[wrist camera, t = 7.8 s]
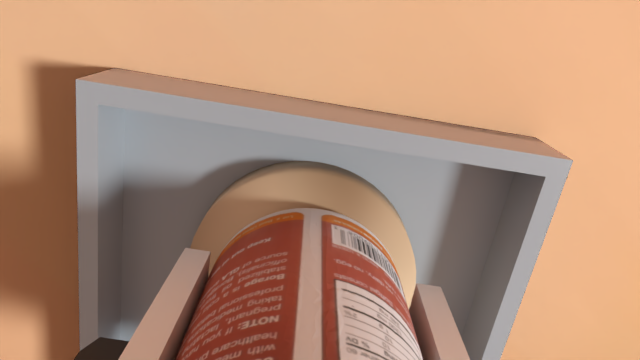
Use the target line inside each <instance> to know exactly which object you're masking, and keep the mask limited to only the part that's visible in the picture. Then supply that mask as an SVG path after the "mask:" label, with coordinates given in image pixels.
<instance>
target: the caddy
mask: <svg viewBox="0 0 640 360" xmlns="http://www.w3.org/2000/svg"><path fill="white" fill-rule="evenodd" d="M76 136H77V202H78V268H79V334H80V351H81V350H82V349H83V348H85V347H86V346H88V345H89V344H91V343H92V342H94V341H95V340H96V339H98V338H99V337H103V338H110V339H117V340H124V341H130V339H131V338H132V336H133V334H134V333H135V331H136V329H137V327H138V326H139V324H140V322H141V321H142V319H143V317H144V316H145V314H146V312H147V311H148V309H149V307H150V306H151V304H152V302H153V301H154V299H155V297H156V296H157V294H158V292H159V291H160V289H161V287H162V286H163V284H164V282H165V281H166V279H167V277H168V276H169V274H170V272H171V271H172V269H173V267H174V266H175V264H176V262H177V261H178V259H179V257H180V256H181V254H182V252H183V251H184V249H185V248H190V247H191V244H192V241H193V238H194V236H195V234H196V232H197V230H198V227H199V225H200V224H201V222H202V220H203V219H204V217H205V215H206V213H207V212H208V210H209V208H210V207H211V206H212V204H213V203H214V201H215V200H216V199H217V198H218V197H219V195H220V194H221V193H222V192H223V191H224V190H225V189H226V188H228V187H229V186H230V185H231V184H232V183H234V182H235V181H236V180H238V179H240V178H241V177H243V176H245V175H246V174H248V173H250V172H252V171H255V170H257V169H259V168H262V167H265V166H269V165H272V164H276V163H282V162H289V161H312V162H321V163H326V164H330V165H335V166H338V167H341V168H343V169H346V170H349V171H351V172H353V173H355V174H357V175H359V176H361V177H362V178H364V179H365V180H367V181H368V182H370V183H371V184H373V185H374V186H375V187H376V188H377V189H378V190H380V191H381V192H382V193H383V194H384V195H385V196H386V197H387V199H388V200H389V201H390V202H391V203H392V205H393V206H394V208H395V209H396V211H397V212H398V214H399V216H400V218H401V220H402V222H403V225H404V227H405V229H406V232H407V235H408V237H409V240H410V243H411V246H412V250H413V253H414V257H415V264H416V283H419V284H425V285H432V286H439V287H441V289H442V291H443V293H444V296H445V298H446V301H447V303H448V306H449V308H450V311H451V313H452V316H453V318H454V321H455V323H456V326H457V328H458V331H459V333H460V336H461V338H462V341H463V343H464V346H465V348H466V351H467V353H468V356H469V358H470V360H500V358H501V355H502V352H503V350H504V347H505V344H506V342H507V339H508V336H509V333H510V331H511V328H512V325H513V323H514V320H515V317H516V314H517V312H518V309H519V306H520V304H521V301H522V298H523V295H524V293H525V290H526V287H527V284H528V282H529V279H530V276H531V274H532V271H533V268H534V265H535V263H536V260H537V257H538V255H539V252H540V249H541V246H542V244H543V241H544V238H545V236H546V233H547V230H548V227H549V225H550V222H551V219H552V217H553V214H554V211H555V208H556V206H557V203H558V200H559V197H560V195H561V192H562V189H563V187H564V184H565V181H566V178H567V176H568V173H569V170H570V168H571V165H572V162H573V160H572V159H570V158H568V157H567V156H565V155H563V154H562V153H560V152H558V151H557V150H555V149H554V148H552V147H550V146H549V145H547V144H545V143H544V142H542V141H541V140H539V139H537V138H535V137H529V136H523V135H517V134H511V133H505V132H499V131H493V130H487V129H480V128H474V127H468V126H462V125H456V124H450V123H444V122H438V121H432V120H426V119H420V118H414V117H408V116H402V115H396V114H390V113H384V112H378V111H372V110H366V109H360V108H353V107H347V106H341V105H335V104H329V103H323V102H317V101H311V100H305V99H299V98H293V97H287V96H281V95H275V94H269V93H263V92H257V91H251V90H245V89H239V88H233V87H227V86H220V85H214V84H208V83H202V82H196V81H190V80H184V79H178V78H172V77H166V76H160V75H154V74H148V73H142V72H136V71H130V70H124V69H118V68H113V69H109V70H106V71H102V72H99V73H95V74H92V75H88V76H85V77H81V78H78V79H76Z"/></svg>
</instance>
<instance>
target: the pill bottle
mask: <svg viewBox="0 0 640 360" xmlns="http://www.w3.org/2000/svg"><path fill="white" fill-rule="evenodd" d="M175 360H423V358H422V353H421V351H420V347H419V344H418V340H417V337H416V333H415V330H414V327H413V323H412V320H411V316H410V313H409V310H408V306H407V303H406V299H405V295H404V292H403V288H402V285H401V282H400V278H399V275H398V272H397V270H396V267H395V264H394V262H393V260H392V258H391V256H390V254H389V252H388V251H387V249H386V248H385V246H384V245H383V244H382V242H381V241H380V240H379V239H378V238H377V237H376V236H375V235H374V234H373V233H372V232H371V231H369V230H368V229H367V228H366V227H364V226H363V225H361V224H360V223H358V222H357V221H355V220H353V219H351V218H349V217H347V216H345V215H342V214H339V213H336V212H333V211H328V210H322V209H316V208H295V209H288V210H282V211H279V212H275V213H272V214H269V215H267V216H264V217H262V218H260V219H258V220H256V221H254V222H252V223H250V224H249V225H247V226H245V227H244V228H243V229H241V230H240V231H239V232H238V233H237V234H235V235H234V236H233V238H232V239H231V240H230V241H229V242H228V243H227V244H226V246H225V247H224V248H223V250H222V251H221V253H220V254H219V256H218V258H217V260H216V262H215V264H214V266H213V268H212V270H211V273H210V275H209V277H208V280H207V282H206V285H205V287H204V290H203V292H202V295H201V297H200V299H199V302H198V304H197V307H196V309H195V312H194V314H193V317H192V319H191V322H190V324H189V326H188V329H187V331H186V334H185V336H184V339H183V341H182V344H181V346H180V349H179V351H178V354H177V356H176V358H175Z"/></svg>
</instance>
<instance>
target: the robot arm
mask: <svg viewBox="0 0 640 360" xmlns="http://www.w3.org/2000/svg"><path fill="white" fill-rule="evenodd" d="M210 254H211V252H210V251H203V250H197V249H190V248H185V249H184V251H183V252H182V254H181V256H180V257H179V259H178V261H177V262H176V264H175V266H174V267H173V269H172V271H171V272H170V274H169V276H168V277H167V279H166V281H165V282H164V284H163V286H162V287H161V289H160V291H159V292H158V294H157V296H156V297H155V299H154V301H153V302H152V304H151V306H150V307H149V309H148V311H147V312H146V314H145V316H144V317H143V319H142V321H141V322H140V324H139V326H138V327H137V329H136V331H135V333H134V334H133V336H132V338H131V339H130V341H124V340H117V339H110V338H103V337H99V338H98V339H96V340H95V341H94V342H92V343H91V344H89V345H88V346H86V347H85V348H83V349H82V350H81V351H80V352H79V353H78V355H77V356H76V357H75V359H74V360H175V358H176V356H177V354H178V351H179V349H180V346H181V344H182V341H183V339H184V336H185V334H186V331H187V329H188V326H189V324H190V322H191V319H192V317H193V314H194V312H195V309H196V307H197V304H198V302H199V299H200V297H201V295H202V292H203V290H204V287H205V285H206V282H207V280H208V275H209V265H210ZM409 313H410V316H411V320H412V323H413V327H414V330H415V333H416V337H417V340H418V344H419V347H420V351H421V353H422V358H423V360H470V358H469V356H468V353H467V351H466V348H465V346H464V343H463V341H462V338H461V336H460V333H459V331H458V328H457V326H456V323H455V321H454V318H453V316H452V313H451V311H450V308H449V306H448V303H447V301H446V298H445V296H444V293H443V291H442V289H441V287H439V286H432V285H425V284H419V283H416V286H415V290H414V294H413V297H412V301H411V305H410V308H409Z"/></svg>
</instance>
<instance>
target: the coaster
mask: <svg viewBox="0 0 640 360" xmlns="http://www.w3.org/2000/svg"><path fill="white" fill-rule="evenodd" d="M295 208H316V209H322V210H328V211H333V212H336V213H339V214H342V215H345V216H347V217H349V218H351V219H353V220H355V221H357V222H358V223H360V224H361V225H363V226H364V227H366V228H367V229H368V230H369V231H371V232H372V233H373V234H374V235H375V236H376V237H377V238H378V239H379V240H380V241H381V242H382V244H383V245H384V246H385V248H386V249H387V251H388V252H389V254H390V256H391V258H392V260H393V262H394V264H395V267H396V270H397V272H398V275H399V278H400V282H401V285H402V288H403V292H404V295H405V299H406V303H407V306H408V310H409V308H410V305H411V301H412V297H413V294H414V290H415V286H416V264H415V257H414V253H413V250H412V246H411V243H410V240H409V237H408V235H407V232H406V229H405V227H404V225H403V222H402V220H401V218H400V216H399V214H398V212H397V211H396V209H395V208H394V206H393V205H392V203H391V202H390V201H389V200H388V199H387V197H386V196H385V195H384V194H383V193H382V192H381V191H380V190H378V189H377V188H376V187H375V186H374V185H373V184H371V183H370V182H368V181H367V180H365V179H364V178H362V177H361V176H359V175H357V174H355V173H353V172H351V171H349V170H346V169H343V168H341V167H338V166H335V165H330V164H326V163H321V162H312V161H289V162H282V163H276V164H272V165H269V166H265V167H262V168H259V169H257V170H255V171H252V172H250V173H248V174H246V175H245V176H243V177H241V178H240V179H238V180H236V181H235V182H234V183H232V184H231V185H230V186H229V187H228V188H226V189H225V190H224V191H223V192H222V193H221V194H220V195H219V197H218V198H217V199H216V200H215V201H214V203H213V204H212V206H211V207H210V208H209V210H208V212H207V213H206V215H205V217H204V219H203V220H202V222H201V224H200V225H199V227H198V230H197V232H196V234H195V236H194V238H193V241H192V244H191V247H190V249H197V250H203V251H210V252H211V254H210V265H209V275H210V273H211V270H212V268H213V266H214V264H215V262H216V260H217V258H218V256H219V254H220V253H221V251H222V250H223V248H224V247H225V246H226V244H227V243H228V242H229V241H230V240H231V239H232V238H233V236H234V235H235V234H237V233H238V232H239V231H240V230H241V229H243V228H244V227H245V226H247V225H249V224H250V223H252V222H254V221H256V220H258V219H260V218H262V217H264V216H267V215H269V214H272V213H275V212H279V211H282V210H288V209H295ZM209 275H208V277H209Z"/></svg>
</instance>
